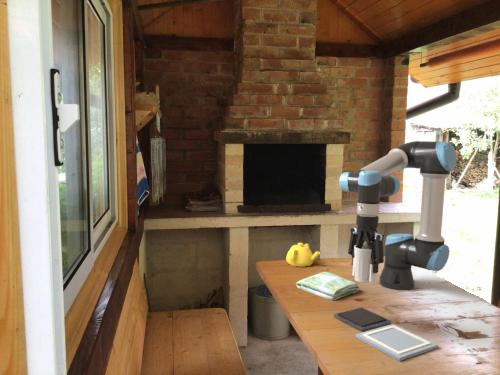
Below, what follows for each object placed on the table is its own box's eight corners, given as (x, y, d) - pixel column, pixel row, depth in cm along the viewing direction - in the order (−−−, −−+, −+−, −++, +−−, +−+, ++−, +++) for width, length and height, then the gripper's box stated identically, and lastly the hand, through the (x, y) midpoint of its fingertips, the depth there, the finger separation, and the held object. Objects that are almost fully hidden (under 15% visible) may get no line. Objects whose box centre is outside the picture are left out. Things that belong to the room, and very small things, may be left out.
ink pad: (333, 317, 163) (334, 313, 163) (361, 310, 170) (361, 306, 170) (361, 331, 151) (362, 327, 151) (390, 323, 159) (390, 319, 158)
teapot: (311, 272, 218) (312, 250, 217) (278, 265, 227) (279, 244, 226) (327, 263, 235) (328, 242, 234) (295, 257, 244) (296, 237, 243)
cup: (376, 278, 162) (378, 245, 160) (374, 284, 154) (376, 250, 153) (353, 275, 164) (355, 243, 163) (351, 281, 157) (353, 248, 155)
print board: (355, 337, 147) (355, 333, 147) (393, 326, 156) (393, 322, 156) (399, 361, 132) (399, 356, 132) (438, 347, 141) (438, 343, 141)
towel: (333, 302, 179) (334, 290, 178) (294, 288, 195) (295, 277, 194) (360, 293, 191) (361, 281, 190) (322, 280, 207) (322, 269, 206)
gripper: (339, 211, 163) (336, 272, 166) (382, 220, 146) (378, 288, 149) (354, 209, 167) (351, 269, 170) (398, 219, 150) (393, 285, 152)
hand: (364, 278), depth 159 cm, fingers closed on cup, 7 cm apart
